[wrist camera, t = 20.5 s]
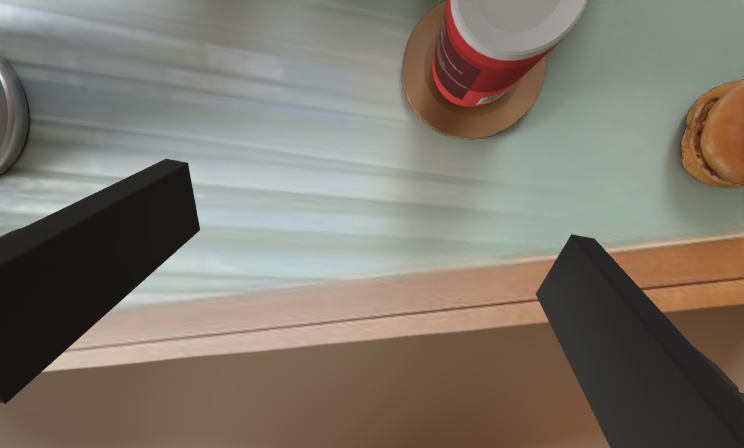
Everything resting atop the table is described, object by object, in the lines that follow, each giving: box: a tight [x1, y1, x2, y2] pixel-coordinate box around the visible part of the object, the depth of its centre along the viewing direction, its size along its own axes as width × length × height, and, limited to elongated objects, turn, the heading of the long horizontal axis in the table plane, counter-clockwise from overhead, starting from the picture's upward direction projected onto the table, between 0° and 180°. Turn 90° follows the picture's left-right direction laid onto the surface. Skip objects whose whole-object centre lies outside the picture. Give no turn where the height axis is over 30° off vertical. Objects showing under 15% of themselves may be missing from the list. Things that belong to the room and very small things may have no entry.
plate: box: [403, 0, 546, 140], centre depth 28 cm, size 13×13×1 cm
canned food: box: [432, 0, 588, 107], centre depth 23 cm, size 8×8×11 cm
